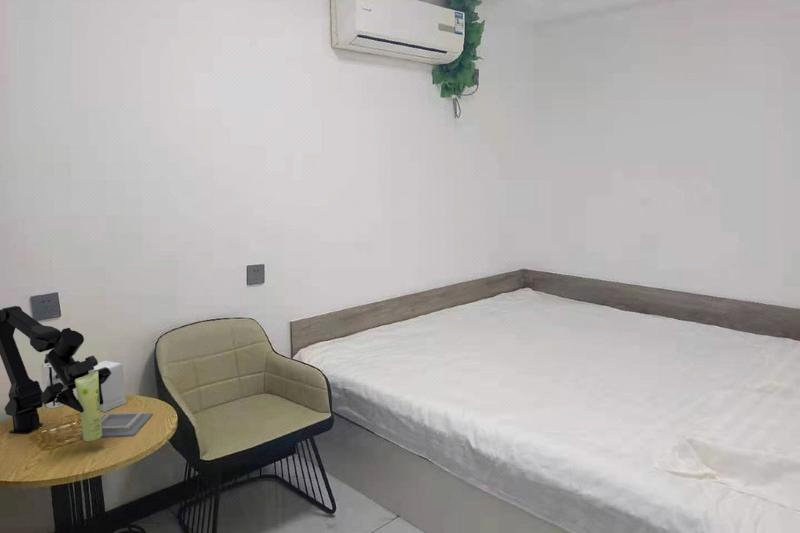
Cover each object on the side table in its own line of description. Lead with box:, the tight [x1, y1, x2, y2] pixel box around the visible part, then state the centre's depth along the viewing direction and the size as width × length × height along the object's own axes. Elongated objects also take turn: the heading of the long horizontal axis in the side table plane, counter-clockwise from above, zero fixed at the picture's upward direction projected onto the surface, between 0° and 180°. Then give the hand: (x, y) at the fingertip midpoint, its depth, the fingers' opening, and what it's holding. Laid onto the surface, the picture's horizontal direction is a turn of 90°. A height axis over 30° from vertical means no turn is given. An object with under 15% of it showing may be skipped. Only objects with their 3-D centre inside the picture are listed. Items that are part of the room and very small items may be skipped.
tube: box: [75, 371, 102, 442], centre depth 159 cm, size 6×5×20 cm
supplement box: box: [88, 360, 127, 413], centre depth 192 cm, size 9×9×15 cm
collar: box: [101, 411, 144, 433], centre depth 177 cm, size 11×11×2 cm
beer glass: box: [40, 363, 65, 409], centre depth 194 cm, size 7×7×15 cm
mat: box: [79, 412, 154, 439], centre depth 177 cm, size 16×16×1 cm
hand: (92, 407), depth 159 cm, fingers closed on tube, 6 cm apart
